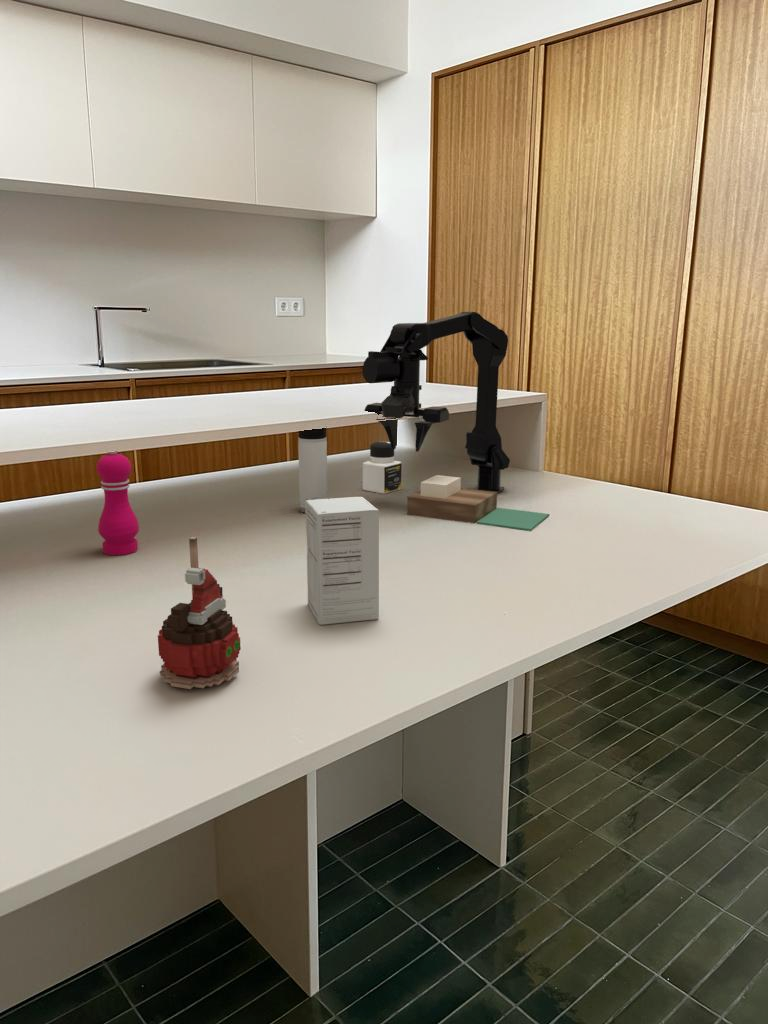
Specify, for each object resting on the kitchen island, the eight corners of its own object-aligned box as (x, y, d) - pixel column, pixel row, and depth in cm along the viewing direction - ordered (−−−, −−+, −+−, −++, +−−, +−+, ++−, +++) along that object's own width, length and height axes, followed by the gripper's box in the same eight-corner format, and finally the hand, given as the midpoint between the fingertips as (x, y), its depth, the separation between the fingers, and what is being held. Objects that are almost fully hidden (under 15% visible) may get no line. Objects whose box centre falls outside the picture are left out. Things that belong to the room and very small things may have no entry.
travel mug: (311, 515, 175) (310, 425, 170) (294, 509, 180) (292, 421, 175) (333, 511, 179) (333, 422, 174) (316, 505, 184) (315, 419, 179)
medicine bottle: (384, 494, 195) (385, 446, 192) (362, 490, 200) (362, 442, 197) (401, 489, 201) (402, 442, 198) (379, 485, 205) (379, 439, 202)
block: (436, 487, 185) (436, 475, 184) (460, 490, 182) (460, 477, 182) (420, 495, 177) (420, 482, 176) (445, 498, 175) (445, 485, 174)
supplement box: (380, 620, 118) (381, 509, 113) (319, 626, 115) (317, 514, 111) (363, 597, 126) (363, 494, 122) (306, 603, 124) (304, 498, 120)
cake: (189, 653, 106) (181, 523, 101) (253, 663, 103) (248, 529, 99) (143, 689, 96) (133, 546, 91) (213, 700, 93) (205, 554, 89)
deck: (432, 501, 189) (432, 484, 188) (496, 509, 182) (497, 492, 181) (407, 514, 177) (407, 496, 176) (474, 523, 170) (475, 505, 169)
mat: (497, 509, 182) (497, 507, 182) (549, 515, 177) (549, 514, 177) (476, 523, 170) (476, 521, 170) (530, 531, 165) (530, 529, 164)
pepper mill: (129, 542, 154) (121, 440, 149) (147, 550, 149) (140, 445, 144) (93, 550, 149) (84, 445, 144) (111, 559, 144) (102, 450, 139)
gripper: (352, 382, 174) (352, 452, 178) (430, 386, 166) (429, 459, 170) (375, 378, 184) (375, 444, 188) (450, 382, 176) (448, 451, 180)
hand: (405, 450), depth 181 cm, fingers open, 6 cm apart
